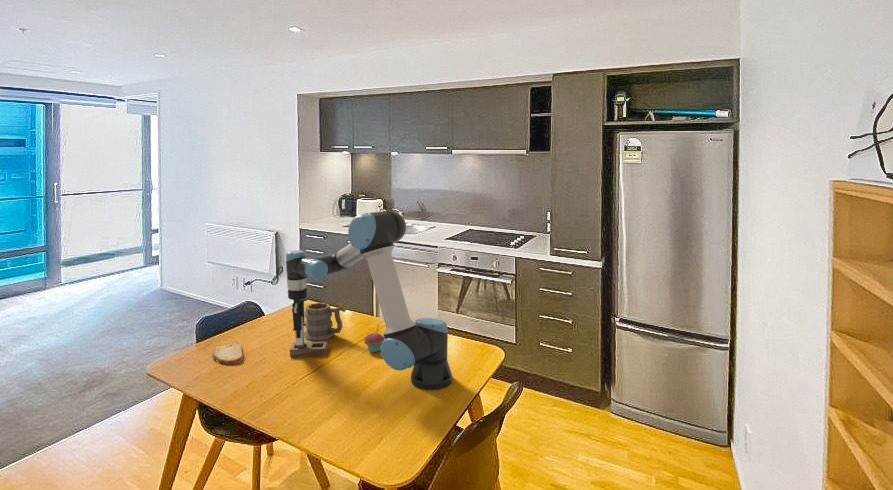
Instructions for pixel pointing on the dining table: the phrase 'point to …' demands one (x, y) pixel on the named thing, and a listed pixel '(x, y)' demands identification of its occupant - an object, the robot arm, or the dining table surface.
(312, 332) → the tankard
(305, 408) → the dining table surface
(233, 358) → the bread slice
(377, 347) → the cupcake
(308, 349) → the hole block
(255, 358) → the dining table surface
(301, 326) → the dowel
